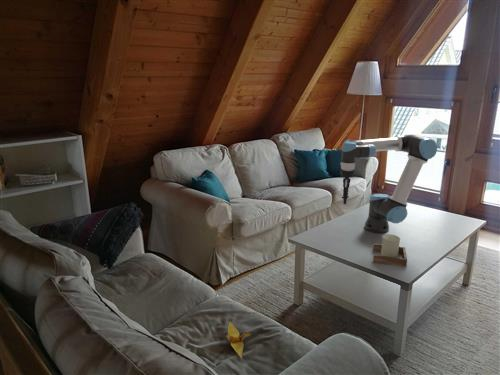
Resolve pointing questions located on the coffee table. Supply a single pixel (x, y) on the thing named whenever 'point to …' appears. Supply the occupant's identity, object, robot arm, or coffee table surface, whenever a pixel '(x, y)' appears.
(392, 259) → the bay
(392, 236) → the can
